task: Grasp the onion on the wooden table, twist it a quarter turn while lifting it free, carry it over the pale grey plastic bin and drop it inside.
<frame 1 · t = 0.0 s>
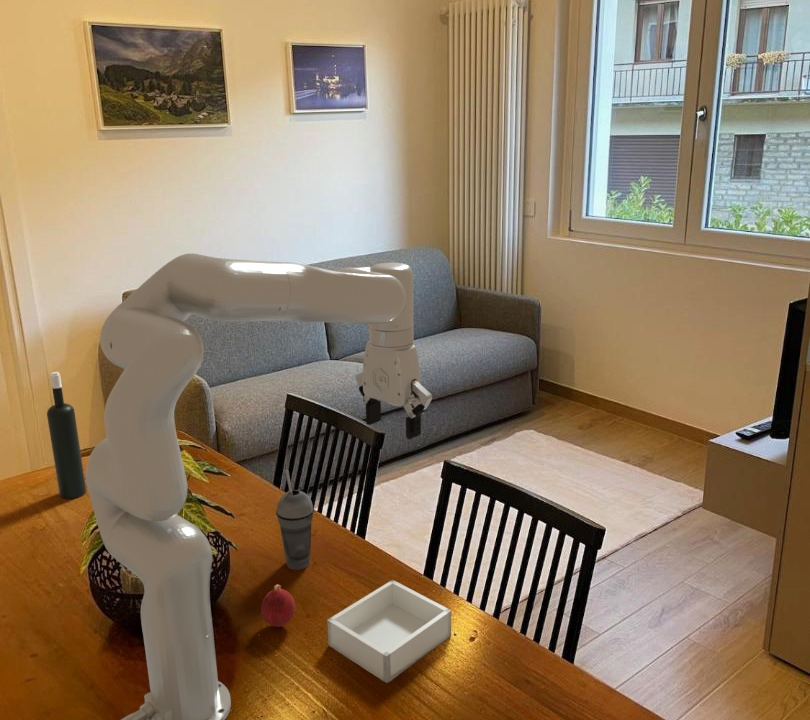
hand: (393, 429, 138), 31 cm above the table, tool pointing down, fingers open, 9 cm apart
onion: (279, 627, 135), on the table
bin: (390, 640, 131), on the table
wine bottle: (73, 494, 184), on the table
beverage cup: (298, 564, 154), on the table
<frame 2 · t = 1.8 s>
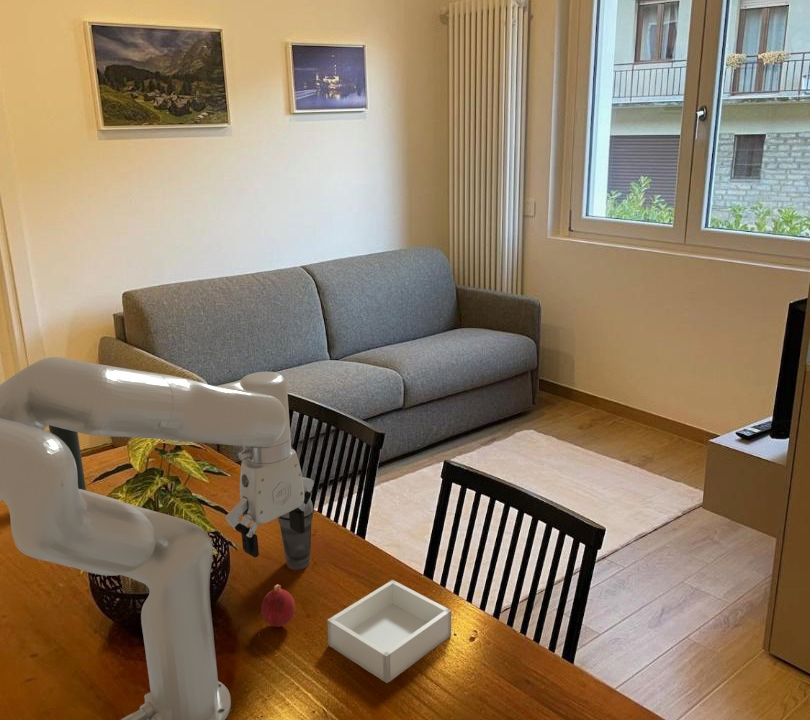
hand: (275, 542, 131), 16 cm above the table, tool pointing down, fingers open, 9 cm apart
nothing on the table moved.
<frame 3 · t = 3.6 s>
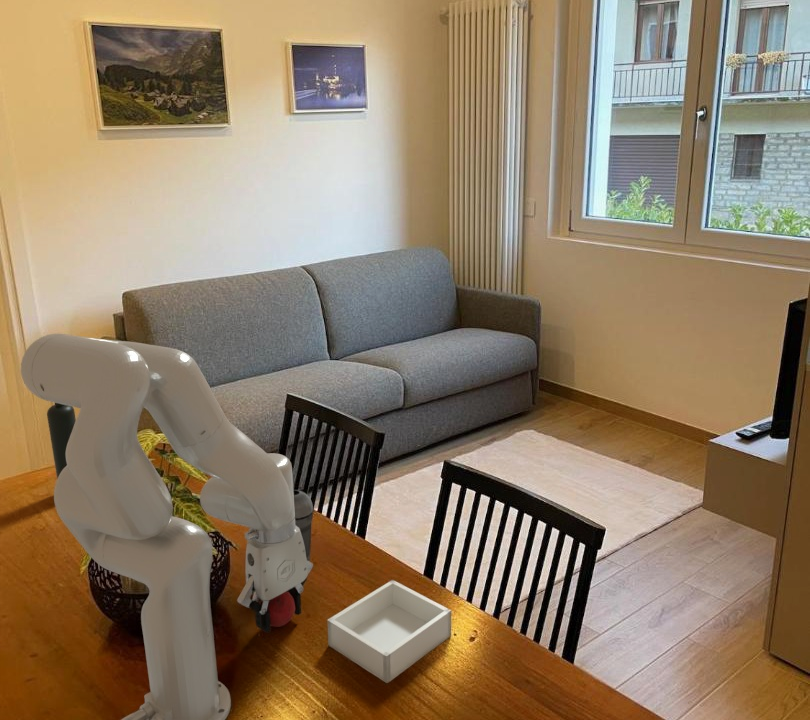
hand: (279, 619, 135), 1 cm above the table, tool pointing down, fingers closed on onion, 5 cm apart
onion: (279, 627, 135), on the table, touching gripper
everything else where it was.
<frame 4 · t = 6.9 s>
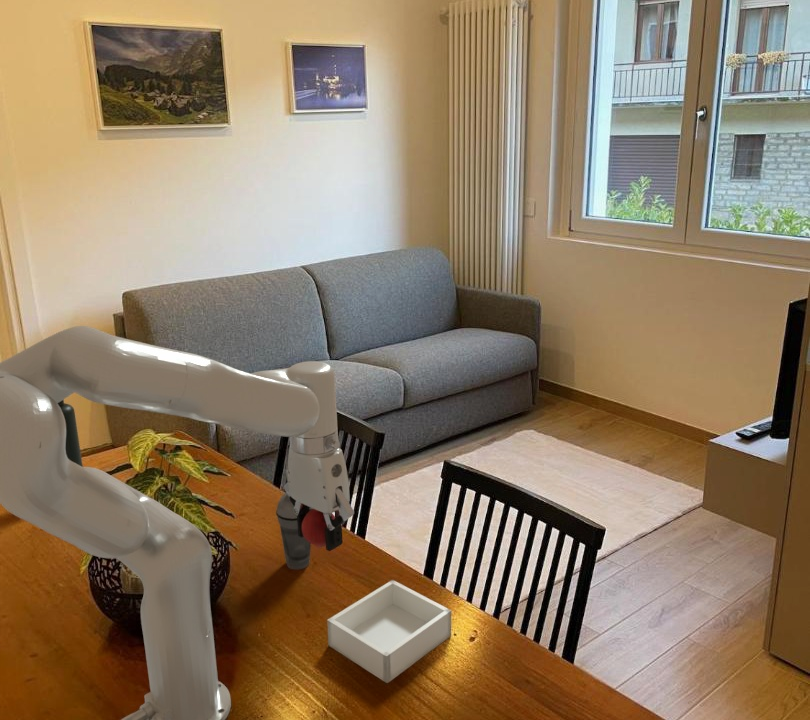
hand: (320, 539, 128), 18 cm above the table, tool pointing down, fingers closed on onion, 5 cm apart
onion: (320, 548, 129), point 16 cm above the table, touching gripper
everything else where it was.
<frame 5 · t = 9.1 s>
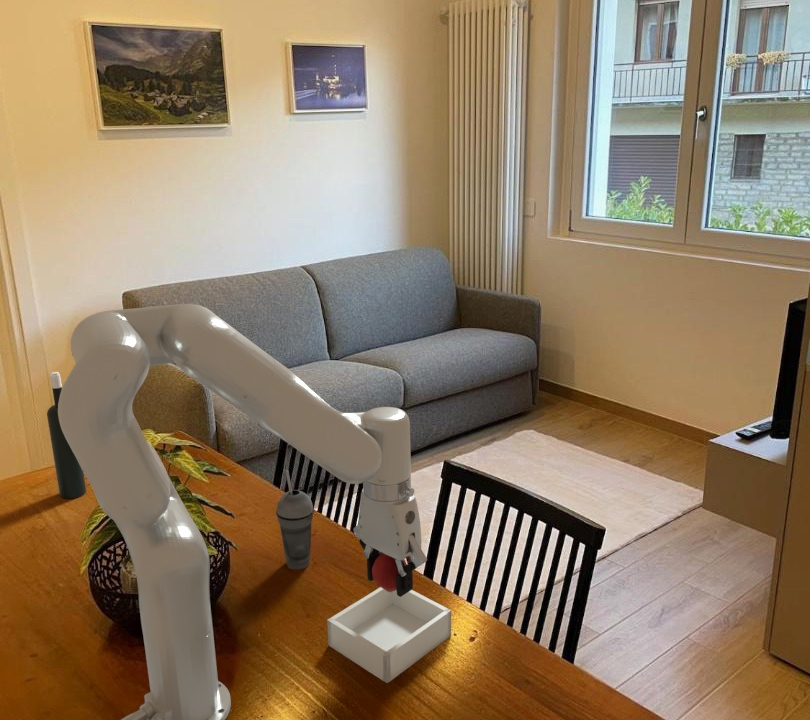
hand: (390, 583, 128), 11 cm above the table, tool pointing down, fingers closed on onion, 5 cm apart
onion: (390, 592, 128), point 9 cm above the table, touching gripper
everything else where it was.
when the fingers open (5 cm above the table, at t = 10.5 s): onion drops 2 cm, resting on bin.
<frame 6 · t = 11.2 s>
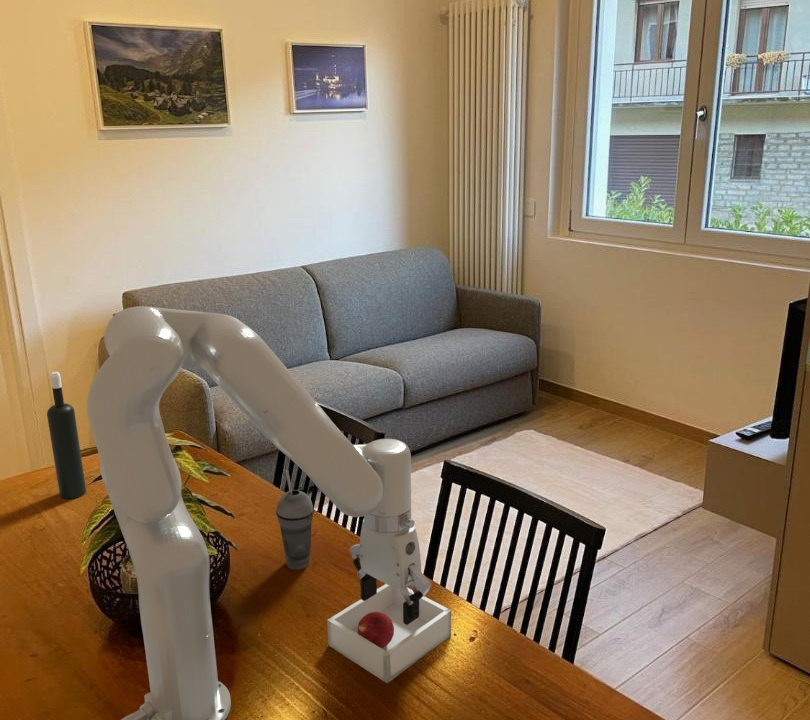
hand: (389, 608, 129), 6 cm above the table, tool pointing down, fingers open, 9 cm apart
onion: (388, 632, 130), point 2 cm above the table, touching bin
everything else where it was.
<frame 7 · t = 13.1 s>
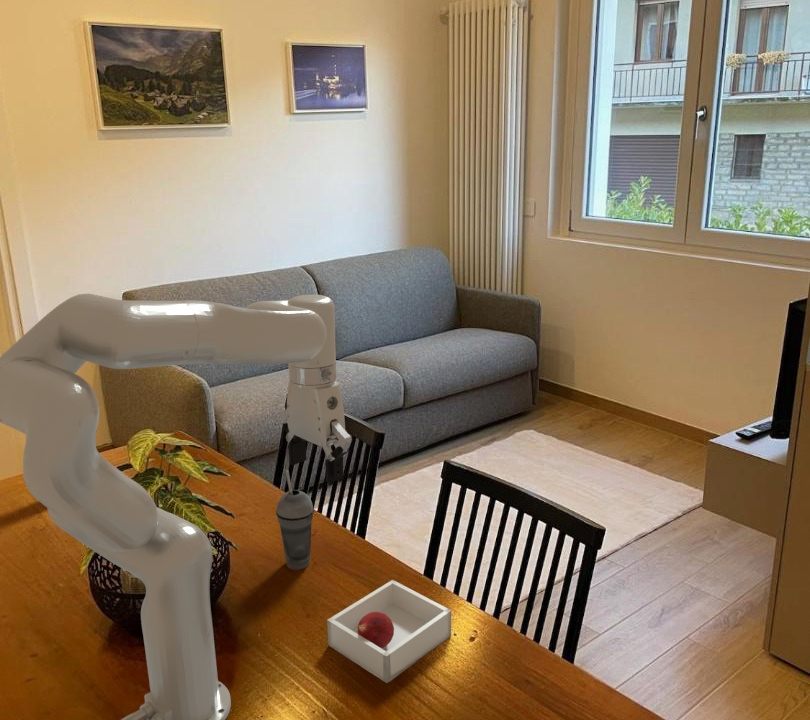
hand: (315, 471, 129), 28 cm above the table, tool pointing down, fingers open, 9 cm apart
nothing on the table moved.
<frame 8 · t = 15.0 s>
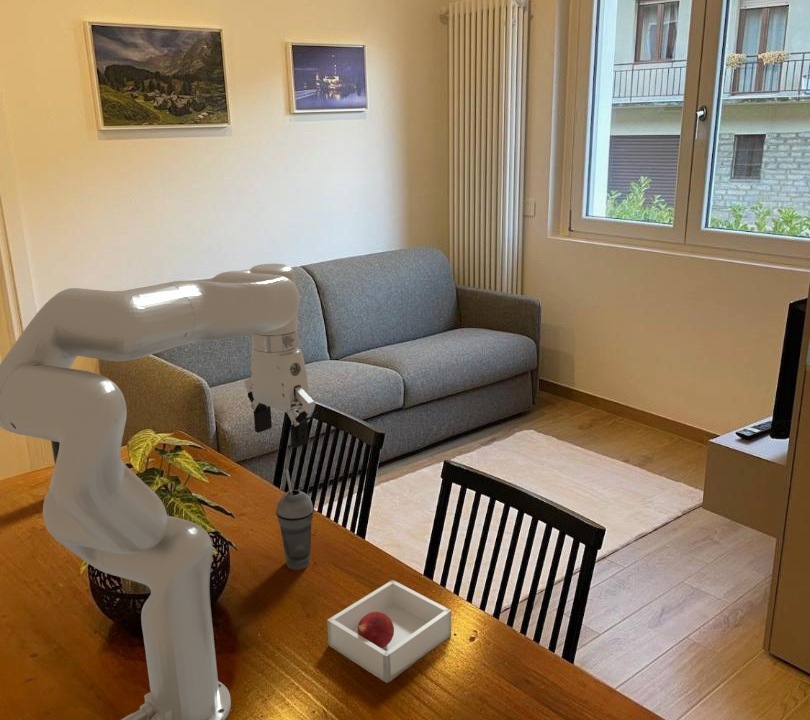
hand: (281, 437, 132), 32 cm above the table, tool pointing down, fingers open, 9 cm apart
nothing on the table moved.
at the end: onion inside the target area on the bin (0.5 cm from its centre), point 1.8 cm above the bin's base; the gripper is holding nothing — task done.
